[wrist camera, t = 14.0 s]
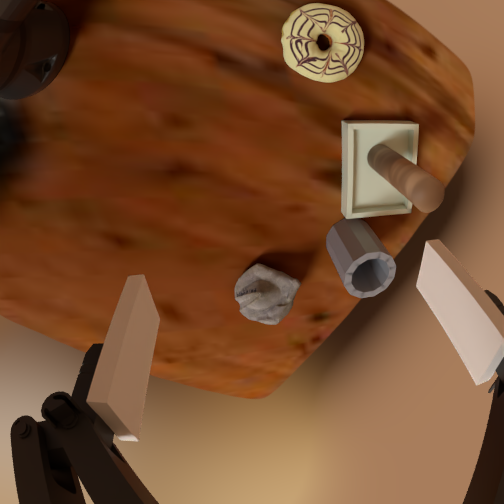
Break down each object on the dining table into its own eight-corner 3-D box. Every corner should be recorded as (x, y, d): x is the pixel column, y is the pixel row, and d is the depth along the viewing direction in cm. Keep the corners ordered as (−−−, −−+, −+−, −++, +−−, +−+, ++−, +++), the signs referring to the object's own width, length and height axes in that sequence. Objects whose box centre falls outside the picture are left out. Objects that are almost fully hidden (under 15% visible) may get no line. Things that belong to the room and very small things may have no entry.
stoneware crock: (326, 220, 49) (346, 255, 40) (372, 215, 49) (399, 249, 40) (325, 261, 53) (342, 301, 44) (368, 256, 53) (391, 293, 44)
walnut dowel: (366, 144, 42) (417, 165, 29) (391, 143, 42) (447, 164, 29) (366, 180, 44) (414, 215, 32) (390, 179, 44) (443, 212, 32)
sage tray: (341, 120, 41) (347, 123, 39) (410, 120, 41) (418, 124, 39) (341, 211, 48) (346, 219, 46) (404, 206, 48) (411, 212, 46)
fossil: (265, 242, 50) (271, 272, 43) (307, 269, 54) (318, 301, 47) (223, 288, 55) (222, 322, 48) (265, 311, 58) (269, 344, 51)
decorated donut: (275, 75, 37) (279, 76, 34) (282, 0, 32) (287, -5, 28) (351, 86, 38) (361, 89, 35) (359, 15, 33) (370, 12, 29)
